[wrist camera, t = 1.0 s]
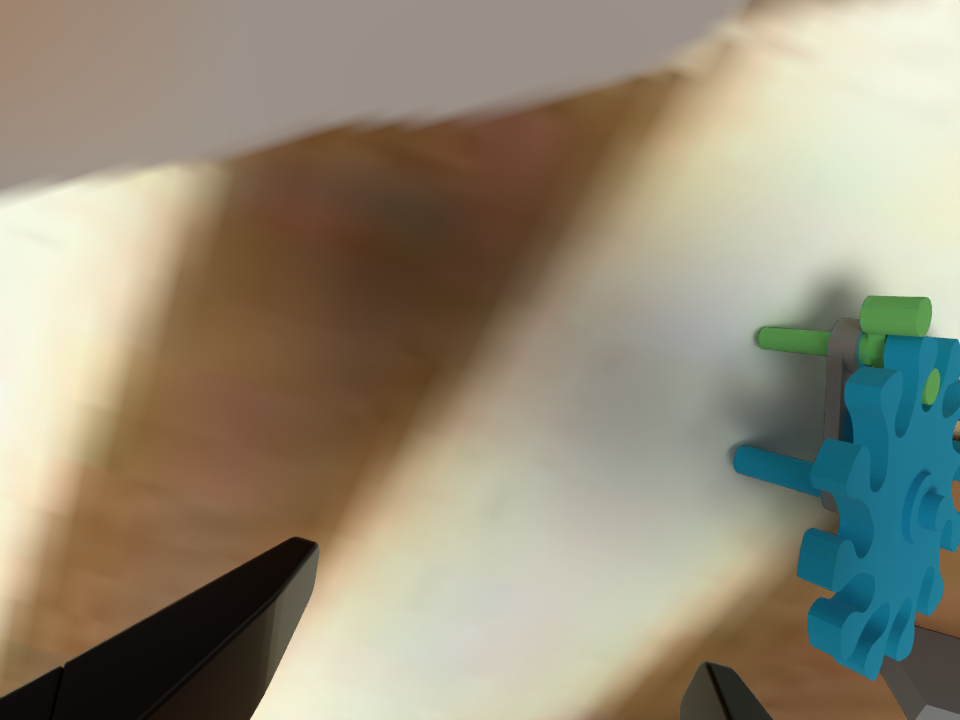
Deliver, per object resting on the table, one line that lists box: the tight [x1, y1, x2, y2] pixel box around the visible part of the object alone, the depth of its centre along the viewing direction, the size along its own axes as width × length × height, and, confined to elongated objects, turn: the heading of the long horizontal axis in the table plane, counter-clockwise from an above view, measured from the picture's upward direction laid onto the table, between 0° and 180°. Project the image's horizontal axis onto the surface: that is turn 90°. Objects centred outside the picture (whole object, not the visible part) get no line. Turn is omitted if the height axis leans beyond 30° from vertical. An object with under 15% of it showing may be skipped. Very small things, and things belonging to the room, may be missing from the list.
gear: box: [734, 296, 960, 681], centre depth 18 cm, size 11×6×10 cm
